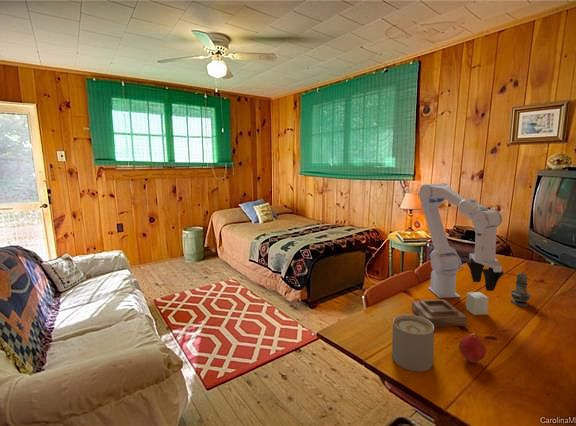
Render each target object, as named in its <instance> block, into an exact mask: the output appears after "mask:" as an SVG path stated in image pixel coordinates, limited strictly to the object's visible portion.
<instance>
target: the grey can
mask: <svg viewBox="0 0 576 426" xmlns="http://www.w3.org/2000/svg"><path fill="white" fill-rule="evenodd" d="M434 342H435V327H434V325H433V324H432V322H430V321H429V320H427V319H425V318H423V317H420V316H417V315H416V314H408V313H406V314H399V315H396V316H395V317H394V318H393V320H392V342H391V344H392V345H391V348H392V349H391V357H392V359H393V361H394V363H395V364H396V365H398V366H399V367H401V368H403V369H406V370H409V371H412V372H426V371H428V370H430V369H432V368H433V366H434V351H435V350H434V349H435V347H434V345H435V343H434Z"/></svg>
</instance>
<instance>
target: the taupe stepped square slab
mask: <svg viewBox="0 0 576 426" xmlns="http://www.w3.org/2000/svg"><path fill="white" fill-rule="evenodd" d="M412 309H413V310H412ZM411 310H412V311H413V313H415V315H416V314H417V315H418V316H420V317H423V318H425V319H427V320H429V321H430V322H432V324H433V325H434V328H443V327H444V328H447V327H448V328H449V327H467V316H466V315H465V314H464V313H463V312H462V311H460V310H459V309H457V307H455V306H454V305H452V304H451V303H450V302H449V301H448V300H447V299H446V300H445V299H444V298H443V299H442V298H440V299H420V300H416V301H411ZM417 315H416V316H417Z"/></svg>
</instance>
